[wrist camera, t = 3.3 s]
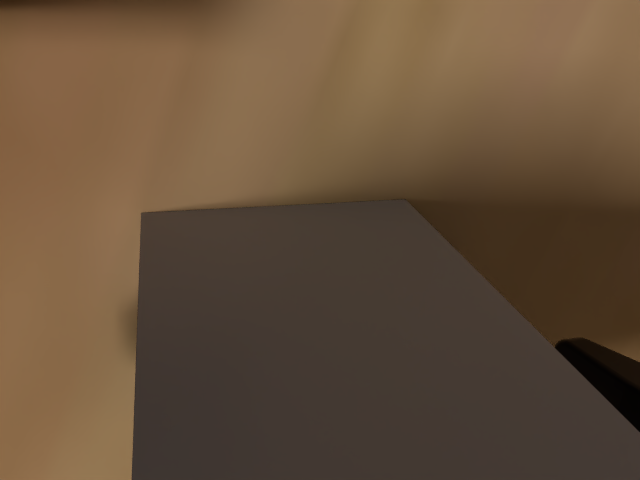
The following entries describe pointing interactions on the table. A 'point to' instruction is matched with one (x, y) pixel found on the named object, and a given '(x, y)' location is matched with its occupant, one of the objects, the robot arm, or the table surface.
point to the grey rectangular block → (348, 357)
